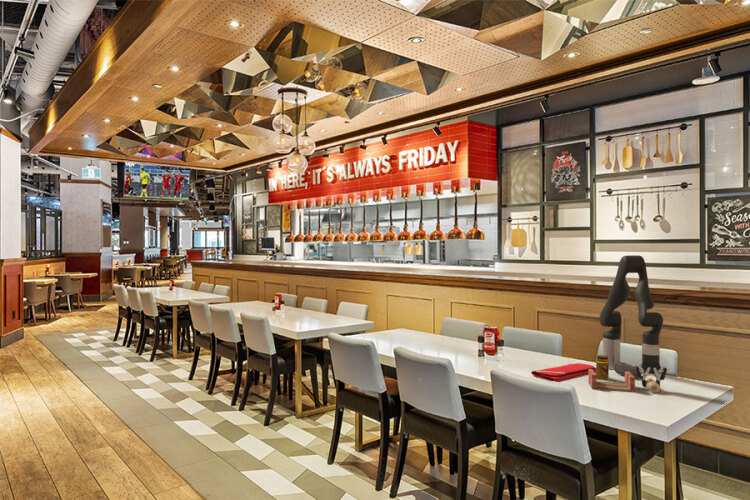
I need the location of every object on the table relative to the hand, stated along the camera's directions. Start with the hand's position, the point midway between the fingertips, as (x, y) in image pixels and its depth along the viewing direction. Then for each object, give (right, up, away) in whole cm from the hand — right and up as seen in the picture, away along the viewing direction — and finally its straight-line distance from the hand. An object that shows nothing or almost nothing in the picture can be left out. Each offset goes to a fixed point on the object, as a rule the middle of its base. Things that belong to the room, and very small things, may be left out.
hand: (650, 387), depth 234 cm
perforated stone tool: (+2, -1, +24) cm, 24 cm away
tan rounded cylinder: (0, -1, 0) cm, 1 cm away
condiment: (-15, -1, +21) cm, 26 cm away
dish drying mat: (-29, -2, +31) cm, 43 cm away
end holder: (-18, -1, +4) cm, 18 cm away
